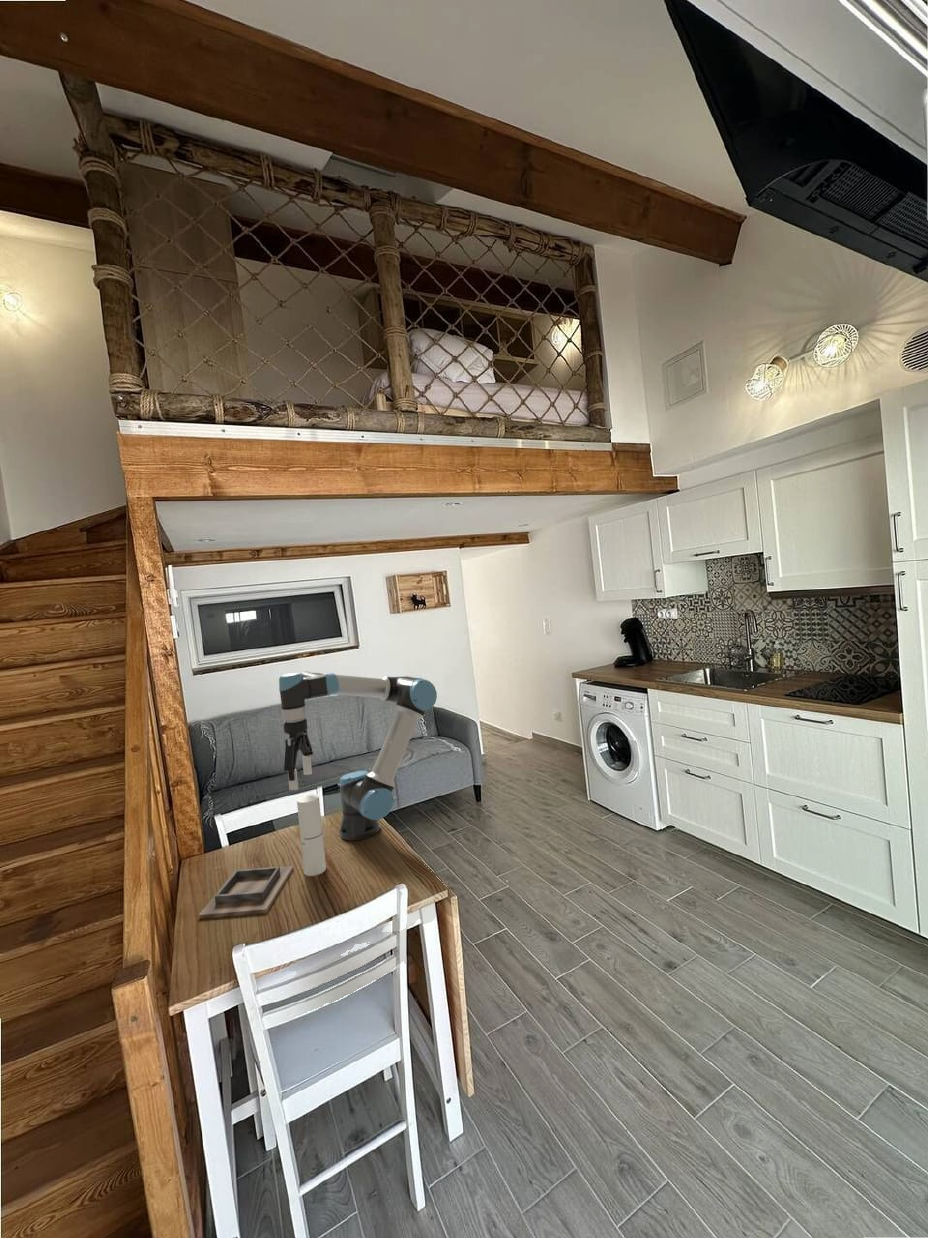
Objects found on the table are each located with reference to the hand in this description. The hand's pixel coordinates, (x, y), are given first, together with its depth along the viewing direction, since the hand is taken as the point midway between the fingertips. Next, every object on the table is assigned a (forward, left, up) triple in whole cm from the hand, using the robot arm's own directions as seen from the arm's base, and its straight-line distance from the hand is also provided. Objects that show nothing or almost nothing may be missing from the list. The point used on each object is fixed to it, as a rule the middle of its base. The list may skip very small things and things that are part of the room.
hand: (301, 781), depth 170 cm
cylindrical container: (-2, +1, -31) cm, 31 cm away
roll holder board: (+16, +11, -31) cm, 36 cm away
